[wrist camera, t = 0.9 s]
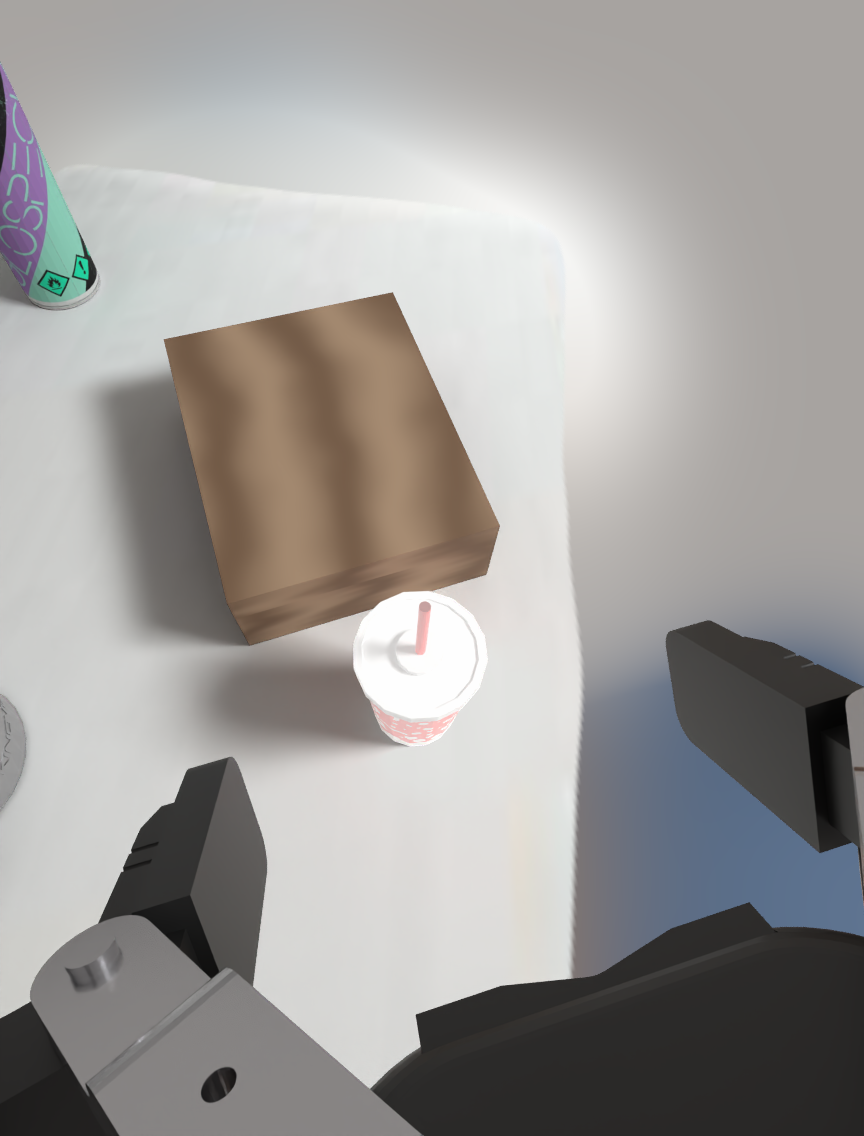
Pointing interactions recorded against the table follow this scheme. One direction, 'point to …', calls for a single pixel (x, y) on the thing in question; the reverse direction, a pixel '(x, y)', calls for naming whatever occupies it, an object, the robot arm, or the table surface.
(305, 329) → the walnut shelf stand
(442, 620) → the beverage cup
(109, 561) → the table surface
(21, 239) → the spray can
